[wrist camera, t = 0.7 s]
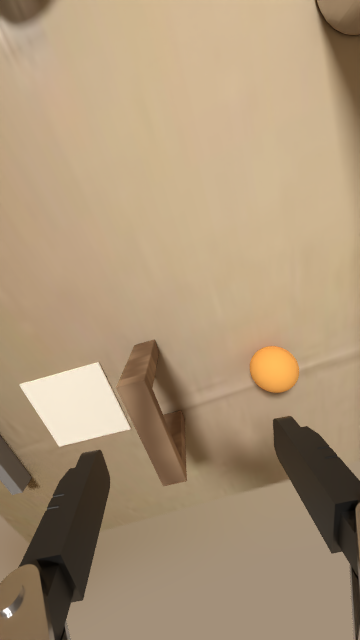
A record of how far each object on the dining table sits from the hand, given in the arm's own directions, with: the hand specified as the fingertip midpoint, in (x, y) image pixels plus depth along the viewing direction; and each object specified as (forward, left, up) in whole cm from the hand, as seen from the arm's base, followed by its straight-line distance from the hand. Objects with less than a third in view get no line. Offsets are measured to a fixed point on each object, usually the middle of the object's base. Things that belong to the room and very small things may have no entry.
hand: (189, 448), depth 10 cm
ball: (-10, +10, -18) cm, 22 cm away
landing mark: (+20, +10, -21) cm, 31 cm away
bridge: (+6, +10, -21) cm, 24 cm away
